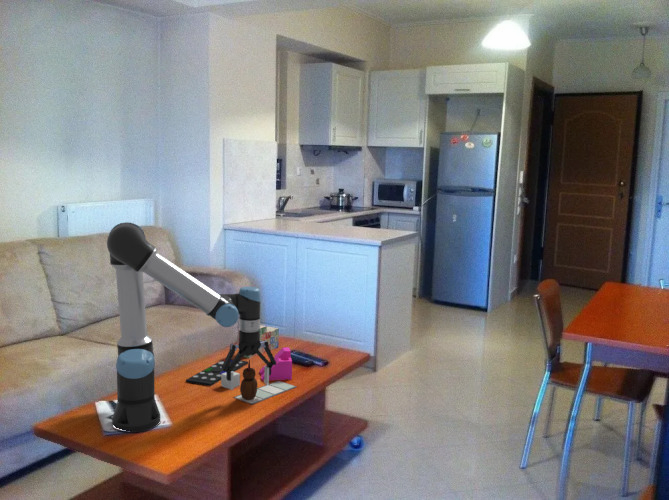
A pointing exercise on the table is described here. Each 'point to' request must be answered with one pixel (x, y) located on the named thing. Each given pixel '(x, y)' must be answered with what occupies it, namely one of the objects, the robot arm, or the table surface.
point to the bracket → (280, 366)
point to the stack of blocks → (267, 338)
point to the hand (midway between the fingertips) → (249, 386)
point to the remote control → (213, 373)
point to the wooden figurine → (248, 383)
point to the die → (226, 383)
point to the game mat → (267, 392)
